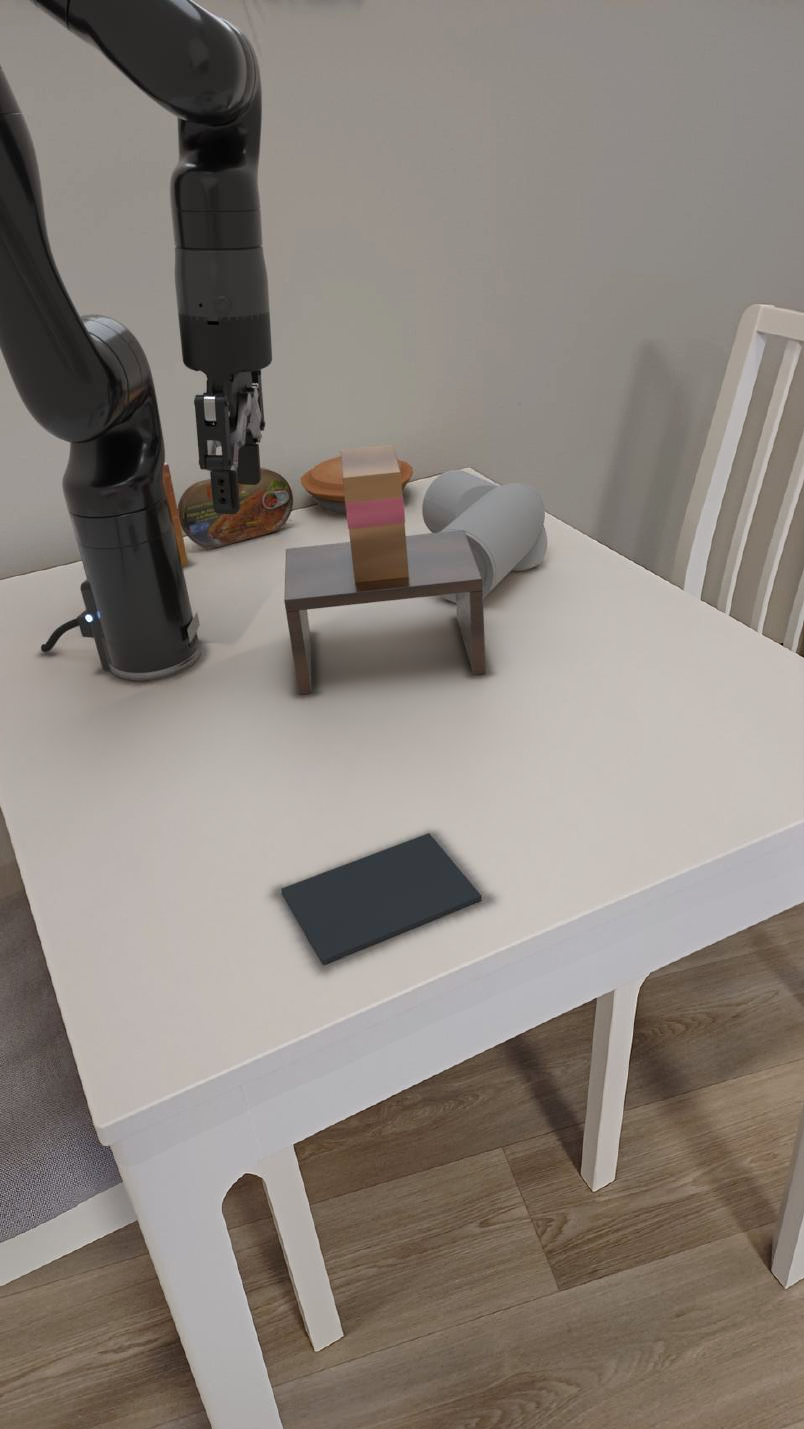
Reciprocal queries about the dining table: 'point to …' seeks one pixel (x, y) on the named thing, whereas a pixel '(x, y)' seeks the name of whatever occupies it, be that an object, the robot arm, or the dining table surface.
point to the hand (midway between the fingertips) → (238, 497)
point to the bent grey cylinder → (489, 522)
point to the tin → (257, 515)
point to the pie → (337, 483)
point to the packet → (375, 513)
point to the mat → (378, 897)
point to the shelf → (383, 589)
